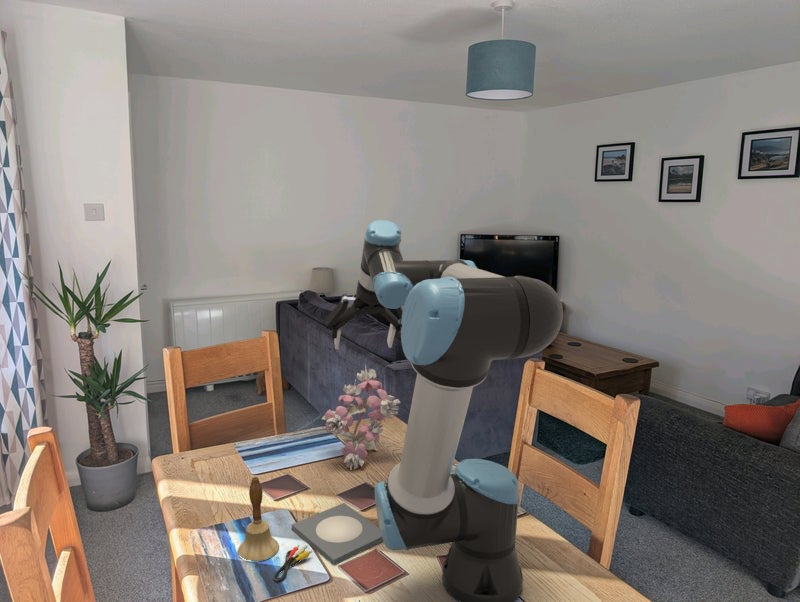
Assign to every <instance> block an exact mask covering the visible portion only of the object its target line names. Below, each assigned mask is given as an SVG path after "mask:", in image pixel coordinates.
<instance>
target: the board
mask: <svg viewBox="0 0 800 602" xmlns="http://www.w3.org/2000/svg"><path fill="white" fill-rule="evenodd" d="M291 530H292V531H293V532H294V533H295V534H296V535H298V536H299V537H300V538H301V539H302V540H304V541H305V542H306V543H307V544H309V545H308V546H311V548H313V549H314V550H315V551H316V552H317V553H319V554H320V555H321V556H322V557H323V558H324V559H325V560H326V561H328V562H329V563H330V564H331V565H333V566H335V565H337V564H340V563H341V562H343V561H346V560H348V559H349V558H352V557H353V556H355V555H358V554H360V553H362V552H364V551H366V550H367V549H370V548H371V547H374V546H376V545H378V544H380V543H382V542H384V541H383V538H382V535H381V531H380V526H379V525H378V526H377V525H376V524H375V523H374V522H372V521H371V520H369V519H367V517H365V516H364V515H362V514H360V513H359V512H358V511H357V510H355V509H353V508H352V507H350V506H349V505H348V504H346V503H345V502H343V503H340V504H338V505H335V506H333V507H331V508H328V509H326V510H323V511H321V512H318V513H317V514H316V513H315V514H314V515H311V516H309V517H306V518H304V519H301V520H299V521H296V522H293V523H292V524H291Z"/></svg>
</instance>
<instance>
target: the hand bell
mask: <svg viewBox="0 0 800 602" xmlns="http://www.w3.org/2000/svg"><path fill="white" fill-rule="evenodd" d="M248 497H249V501H250V503H251V507H252V522H250V523H249V524H247V525H246V532H245V537H244V540H243V542H241V544H240V545H239V546H238V548H237V555H238V554H239V555H240V556H241V557H242V558H244V559H246V560H251V561H261V562H263V561H262V560H265V559H268V560H269V558H270V557H272V558H273V557H274V556H275V555H277V553H278V552H279V550H280V545H279V543H278V541H277V539H275V538H274V537H273V536H272V534H271V530H270V525H269V523H268V522H267V521H265V520H262V519H263V518H262V510H261V506H262V501H263V486H262V484H261V482H260V479H259V477H257V476H254V477H252V478H251V483H250V485H249V496H248ZM270 559H271V558H270ZM265 561H266V560H265Z"/></svg>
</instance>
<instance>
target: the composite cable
mask: <svg viewBox="0 0 800 602" xmlns="http://www.w3.org/2000/svg"><path fill="white" fill-rule="evenodd" d="M307 548H308V545H306V546H302V547H300V544H298V545H297V546H295V547H293V549H290V550H287V552H286V553H285V557H284V559H285V560H284V563H283V565H282V566H281V567H280V568H278V570H277V571H276V572H275V573H274V574H273V577H272V578H273V581H274V582H275V583H278V582H279V583H282V582H283V581H285V579H286V578H287V575H288V574H287V573H288V570H289V569H290V568H291V567H290V566H292V567H294V566H296V565H297V564H298V563H300V562H301V561H302V560H304V559H307V558H308V557H309V556H310V554H312V552H313V550H309V551H308V550H306V549H307ZM300 560H301V561H300ZM299 561H300V562H299ZM296 563H297V564H296ZM295 564H296V565H295ZM293 565H294V566H293ZM281 571H282V572H281ZM280 572H281V573H282V575H281V577H278V576H279V575H280V574H281V573H280ZM279 573H280V574H279ZM278 574H279V575H278ZM277 575H278V576H277ZM276 577H277V578H276Z"/></svg>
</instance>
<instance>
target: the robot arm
mask: <svg viewBox="0 0 800 602" xmlns="http://www.w3.org/2000/svg"><path fill="white" fill-rule="evenodd" d="M363 239H364V241H363V249H362V255H361V259H360V260H361V261H360V267H359V268H360V269H359V274H358V279H357V286H356V292H355V294H354V296H348V294H347V293H343V294H341V299H340V301H338V303H337V305H336V306H335V307H334V308H333V310H332V311H331V312H330V313H329V314H328V316H327V317H326V318H325V319H324V322H325V323H324V324H325V328H326V330H330V329H331V332H330V333H331V338H332V339H334V343H333V344H334V348H335V350H339V348H340V347H339V346H340V343H341V342H340V340H341V334H342V329H341V328H343V326H345V325H347V324H348V323H349V322H350V321H352V320H353V319H354V318H356V317H357V318H358V317H360V315H362V314H363V315H368V314H372V315H377V314H380V315H381V316H382V317H384V318H385V319H386V320H387V321H388V322H389V323H390V324H389V329H388V332H387V333H388V334H387V338H386V342H387V346H388V349H391V348H392V347H393V343H394V340H395V338H396V337H398V336H399V333H400V339H401V340H400V342H401V347H402V351H403V354H404V357H405V358H406V359H407V360H408V361H409V362H410V365H411V367H412V369H413V370H414V371H415V372H416V373H417V374H416V378H415V384H414V389H413V394H412V400H411V406H410V409H409V415H408V420H407V425H406V431H405V436H404V440H403V441H404V442H403V447H402V452H401V458H400V462H399V463H397V464H395V466H394V467H393V468H392V469H391V471H390V473H389V476H388V479H387V481H386V480H381V481H380V482H377V483H376V484H375V486H374V502H375V509H376V515H377V522H378V527H379V528H380V531H381V535H382V538H383V541H382V542H383V543H384V545H385V547H386V548H387V549H388V550H389V551H390V550H391V551H401V550H403V551H404V550H405V551H409V550H413V549H419V548H426V547H431V546H438V545H443V544H450V547H449V550H448V552H447V554H446V556H445V559H444V561H443V565H442V572H441V573H442V576H441V579H442V584H443V586H444V589H445V590H446V591H447V593H448V594H449V595H451V596H452V598H454V599H456V601H459V602H516V601H517V600H518V599H519V597H520V595H521V594H522V591H523V580H524V579H523V578H524V575H523V572H522V568H521V565H520V563H519V559H518V554H517V551H516V541H517V527H518V526H517V525H518V524H517V523H518V510H519V503H520V493H519V491H520V489H519V486H520V485H519V480H518V478H517V476H516V475H515V474H514V472H512V471H511V470H510V469H509V468H508V467H506V466H504V465H502V464H500V463H497V462H494V461H491V460H487V459H484V458H483V459H482V458H467V459H462V460H461V461H459V462H458V463H457V464H456V467H455V468H454V473H452V468H453V465H454V463H455V462H454V461H455V457H456V454H457V450H458V446H459V443H460V439H461V434H462V431H463V428H464V424H465V420H466V416H467V412H468V409H469V406H470V401H471V397H472V394H473V390H474V387H476V386H478V385H481V384H482V383H483V382H484V381H485V380H486V378H487V376H488V374H489V372H490V371H489V370H490V367H491V363H492V362H493V361H495V360H496V361H497V360H506V359H507V360H509V359H518V358H519V359H520V358H526V357H530V356H533V355H535V354H537V353H540V352H541V351H543V350H544V349H546V348H547V347H548V346H549V345H551V343H552V342H554V340H555V339H556V338H557V336H558V334H559V332H560V330H561V327H562V324H563V319H564V311H563V305H562V304H563V303H562V300H561V299H560V297H559V295H558V292H556V291H555V290H554V288H553V287H552V286H551V285H550V284H547V282H544V281H542V280H540V279H537V278H532V277H529V276H524V275H515V276H503V275H500V274H497V273H493V272H490V271H488V270H483V269H479V268H478V267H477V266H476V263H475V262H474V261H473V260H465V259H459V258H458V259H449V260H448V259H447V260H442V259H440V260H428V259H427V260H404V258H403V256H402V252H401V250H400V243H402V230H401V228H400V227H399V226H398V225H397V223H396V222H392V221H390V220H387V219H383V220H382V219H378V220H374V221H372V222H370V223H369V224H368V225H367V228H366V230H365V234H364V236H363ZM351 304H352V305H351ZM350 305H351V306H350ZM390 309H392V310H393V309H394V310H395V311H396V313H397V316H398V317H397V316H396V315H395V314H394V313H393V312H391V310H390ZM398 318H399V319H398Z"/></svg>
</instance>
